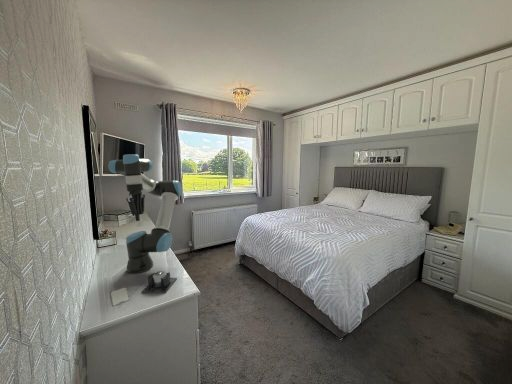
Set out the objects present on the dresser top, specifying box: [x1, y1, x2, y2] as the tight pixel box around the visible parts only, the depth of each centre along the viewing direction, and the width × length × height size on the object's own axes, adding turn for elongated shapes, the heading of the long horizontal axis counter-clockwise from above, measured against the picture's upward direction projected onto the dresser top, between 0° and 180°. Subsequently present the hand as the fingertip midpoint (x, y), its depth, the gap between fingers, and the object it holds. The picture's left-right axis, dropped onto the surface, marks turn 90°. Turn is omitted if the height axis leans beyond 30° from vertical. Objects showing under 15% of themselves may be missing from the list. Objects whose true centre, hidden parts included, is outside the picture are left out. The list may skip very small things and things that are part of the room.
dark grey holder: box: [141, 272, 178, 294], centre depth 116 cm, size 13×13×6 cm
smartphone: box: [110, 287, 131, 307], centre depth 108 cm, size 7×1×15 cm
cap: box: [152, 270, 166, 287], centre depth 115 cm, size 6×6×6 cm
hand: (139, 226), depth 117 cm, fingers closed
